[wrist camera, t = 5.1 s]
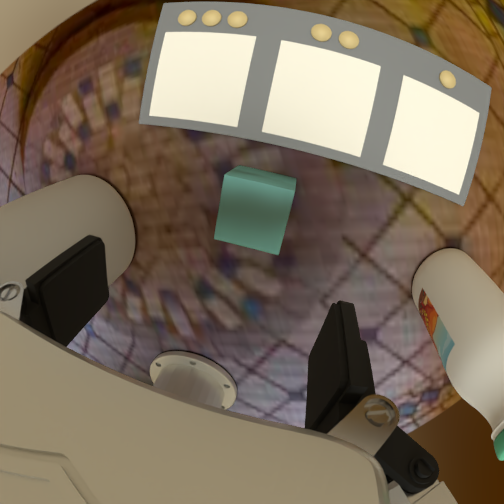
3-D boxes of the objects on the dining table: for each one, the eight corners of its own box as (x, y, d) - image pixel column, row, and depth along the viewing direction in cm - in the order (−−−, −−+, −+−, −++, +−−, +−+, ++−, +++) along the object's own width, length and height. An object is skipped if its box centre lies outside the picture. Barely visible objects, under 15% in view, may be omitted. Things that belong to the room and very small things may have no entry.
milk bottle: (417, 244, 24) (524, 422, 6) (478, 246, 23) (591, 384, 5) (403, 311, 27) (456, 486, 10) (460, 308, 26) (531, 453, 8)
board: (457, 202, 22) (465, 207, 20) (145, 123, 24) (137, 123, 22) (484, 88, 16) (493, 87, 15) (169, 7, 18) (162, 2, 17)
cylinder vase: (122, 293, 33) (-6, 453, 10) (52, 241, 32) (-86, 352, 9) (154, 207, 27) (-64, 394, 5) (69, 155, 26) (-131, 247, 4)
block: (283, 231, 26) (278, 255, 22) (229, 218, 26) (213, 238, 22) (296, 178, 24) (295, 191, 19) (239, 165, 24) (224, 174, 20)
